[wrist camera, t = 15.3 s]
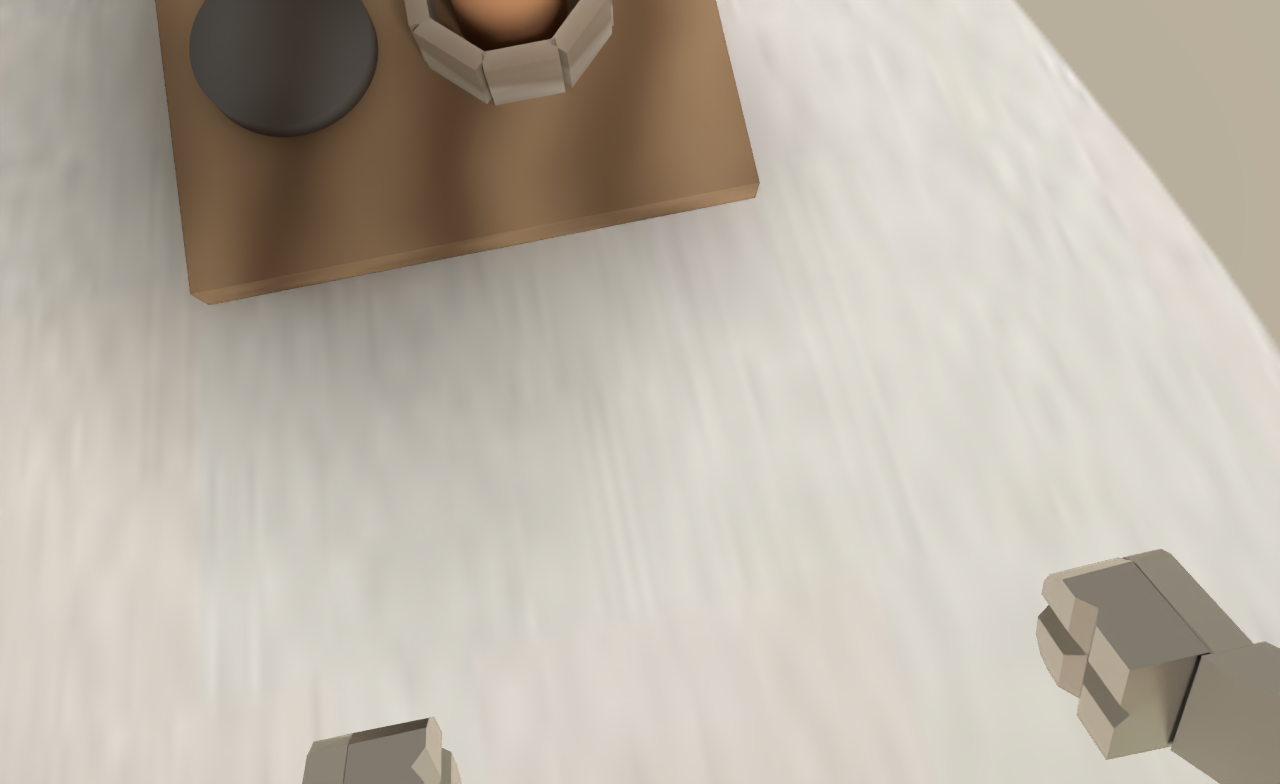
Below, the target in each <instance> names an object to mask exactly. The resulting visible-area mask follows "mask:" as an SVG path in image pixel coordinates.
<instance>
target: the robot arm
mask: <svg viewBox="0 0 1280 784" xmlns="http://www.w3.org/2000/svg"><path fill="white" fill-rule="evenodd" d="M1042 595H1043V597H1044V598H1045V600H1046V601H1047V603H1048V604H1049V605H1048V606H1047V608H1046V609H1045V610H1044V611H1043V612H1042V613H1041V614H1040V615H1039V616H1038V621H1037V631H1036V636H1037V640H1038V645H1039V650H1040V654H1041V656H1042V659H1043V661H1044V663H1045V665H1046V667H1047V670H1048V671H1049V673H1050V674H1051V676H1052V678H1053V679H1054V681H1055V682H1056V684H1057V686H1058V687H1060V688H1062V689H1064V690H1065V691H1067V692H1069V693H1071V694H1073V695H1074V696H1076V697H1078V698H1079V700H1078V709H1077V716H1078V718H1079V719H1080V721H1081V722H1082V724H1083V725H1084V727H1085V729H1086V730H1087V732H1088V733H1089V735H1090V736H1091V738H1092V739H1093V741H1094V742H1095V744H1096V745H1097V747H1098V748H1099V750H1100V751H1101V753H1102V754H1103V756H1104V757H1105V759H1106V760H1108V759H1113V758H1118V757H1122V756H1127V755H1132V754H1137V753H1141V752H1146V751H1151V750H1156V749H1161V748H1165V747H1170V746H1172V747H1171V751H1173V752H1174V753H1176V754H1177V755H1179V756H1180V757H1182V758H1183V759H1185V760H1186V761H1188V762H1189V763H1191V764H1192V765H1193V766H1195V767H1196V768H1198V769H1199V770H1201V771H1202V772H1204V773H1205V774H1207V775H1208V776H1210V777H1211V778H1213V779H1214V780H1215V781H1217V782H1218V783H1220V784H1280V648H1278V647H1276V646H1274V645H1271V644H1269V643H1267V642H1259V643H1254V644H1253V642H1252V641H1251V640H1250V639H1249V638H1248V637H1247V636H1246V635H1245V634H1244V633H1243V632H1242V631H1241V629H1240V628H1239V627H1238V626H1237V625H1236V624H1235V623H1234V622H1233V621H1232V620H1231V619H1230V618H1229V616H1228V615H1227V614H1226V613H1225V612H1224V611H1223V610H1222V609H1221V608H1220V607H1219V606H1218V604H1217V603H1216V602H1215V601H1214V600H1213V599H1212V598H1211V597H1210V596H1209V595H1208V594H1207V593H1206V591H1205V590H1204V589H1203V588H1202V587H1201V586H1200V585H1199V584H1198V583H1197V582H1196V581H1195V580H1194V578H1193V577H1192V576H1191V575H1190V574H1189V573H1188V572H1187V571H1186V570H1185V569H1184V568H1183V567H1182V565H1181V564H1180V563H1179V562H1178V561H1177V560H1176V559H1175V558H1174V557H1173V556H1172V555H1171V554H1170V553H1168V552H1166V551H1164V550H1162V549H1158V550H1152V551H1148V552H1144V553H1140V554H1136V555H1131V556H1127V557H1124V558H1114V559H1110V560H1106V561H1102V562H1098V563H1094V564H1090V565H1085V566H1081V567H1077V568H1073V569H1069V570H1065V571H1061V572H1057V573H1053V574H1050V575H1049V576H1048V577H1047V578H1046V579H1045V580H1044V584H1043V589H1042ZM302 784H461V779H460V775H459V771H458V768H457V764H456V762H455V759H454V757H453V755H452V753H451V752H450V751H448V750H445V749H443V748H442V731H441V729H440V727H439V725H438V723H437V722H436V720H435V718H434V717H430V718H425V719H420V720H415V721H411V722H406V723H401V724H396V725H391V726H386V727H381V728H376V729H371V730H366V731H362V732H357V733H351V734H347V735H342V736H338V737H333V738H329V739H324V740H320V741H315V742H313V744H312V747H311V749H310V751H309V753H308V755H307V759H306V765H305V771H304V777H303V783H302Z"/></svg>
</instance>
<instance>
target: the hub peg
mask: <svg viewBox="0 0 1280 784" xmlns="http://www.w3.org/2000/svg"><path fill="white" fill-rule="evenodd" d="M451 3H452V6H453V9H454V12H455V15H456V18H457V21H458V24H459V27H460V30H461V32H462V34H463V36H464V38H465V39H466V40H467V41H468V42H470V43H471V44H473V45H475V46H476V47H478V48H480V49H481V50H483V51H484V52H485V51H490V50H495V49H501V48H506V47H511V46H516V45H522V44H527V43H532V42H538V41H543V40H548V39H552V37H553V36H554V35H555V33H556V32H557V31H558V29H559V28H560V27H561V25H562V24H563V22H564V21H565V20H566V18H567V12H568V8H567V0H451Z"/></svg>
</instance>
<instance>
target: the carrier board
mask: <svg viewBox="0 0 1280 784" xmlns="http://www.w3.org/2000/svg"><path fill="white" fill-rule="evenodd" d="M155 3H156V11H157V20H158V28H159V36H160V45H161V53H162V61H163V70H164V78H165V87H166V95H167V103H168V112H169V120H170V128H171V137H172V145H173V153H174V162H175V170H176V178H177V187H178V195H179V204H180V212H181V220H182V229H183V237H184V245H185V254H186V262H187V270H188V279H189V287H190V294H191V295H193V296H195V297H196V298H198V299H200V300H202V301H203V302H205V303H207V304H209V305H211V304H216V303H221V302H226V301H231V300H236V299H242V298H247V297H252V296H257V295H262V294H267V293H272V292H277V291H282V290H287V289H292V288H298V287H303V286H308V285H313V284H318V283H323V282H328V281H333V280H338V279H343V278H348V277H353V276H359V275H364V274H369V273H374V272H379V271H384V270H389V269H394V268H399V267H404V266H409V265H415V264H420V263H425V262H430V261H435V260H440V259H445V258H450V257H455V256H460V255H465V254H471V253H476V252H481V251H486V250H491V249H496V248H501V247H506V246H511V245H516V244H521V243H527V242H532V241H537V240H542V239H547V238H552V237H557V236H562V235H567V234H572V233H577V232H582V231H588V230H593V229H598V228H603V227H608V226H613V225H618V224H623V223H628V222H633V221H638V220H644V219H649V218H654V217H659V216H664V215H669V214H674V213H679V212H684V211H689V210H694V209H700V208H705V207H710V206H715V205H720V204H725V203H730V202H735V201H740V200H745V199H750V198H755V196H756V193H757V189H758V186H759V183H760V182H759V178H758V174H757V170H756V166H755V161H754V157H753V153H752V149H751V145H750V141H749V137H748V132H747V128H746V124H745V120H744V116H743V112H742V108H741V103H740V99H739V95H738V91H737V87H736V83H735V78H734V74H733V70H732V66H731V62H730V58H729V54H728V49H727V45H726V41H725V37H724V33H723V29H722V25H721V20H720V16H719V12H718V8H717V4H716V0H567V8H568V12H567V18H566V20H565V21H564V22H563V24H562V25H561V27H560V28H559V29H558V31H557V32H556V33H555V35H554V36H553V37H552V39H548V40H543V41H538V42H532V43H527V44H522V45H516V46H511V47H506V48H501V49H495V50H490V51H485V52H484V51H483V50H481V49H480V48H478V47H476V46H475V45H473V44H471V43H470V42H468V41H467V40H466V39H465V38H464V36H463V34H462V32H461V30H460V27H459V24H458V21H457V18H456V15H455V12H454V9H453V6H452V3H451V0H155Z"/></svg>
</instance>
